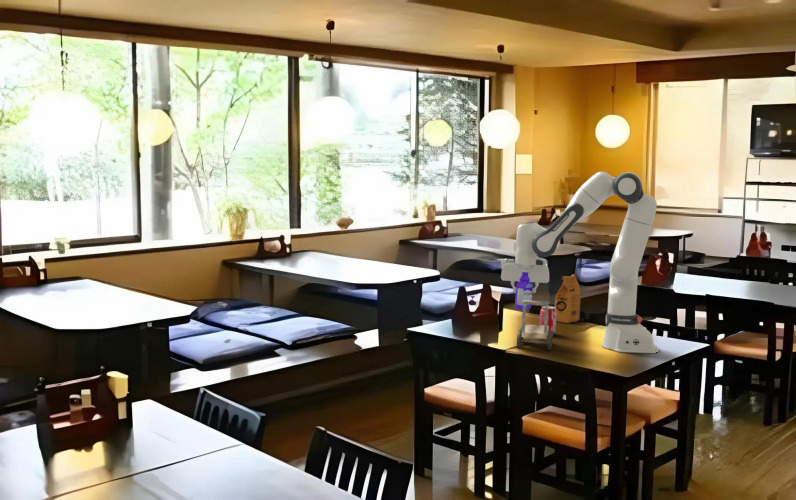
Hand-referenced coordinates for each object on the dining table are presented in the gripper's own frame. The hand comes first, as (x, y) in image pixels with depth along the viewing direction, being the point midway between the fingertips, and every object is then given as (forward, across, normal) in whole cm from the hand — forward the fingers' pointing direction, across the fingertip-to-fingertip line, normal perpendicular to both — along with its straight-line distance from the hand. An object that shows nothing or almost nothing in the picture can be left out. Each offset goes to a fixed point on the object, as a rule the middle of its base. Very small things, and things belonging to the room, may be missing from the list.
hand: (524, 292), depth 335 cm
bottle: (+8, 0, 0) cm, 8 cm away
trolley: (+20, +6, -12) cm, 24 cm away
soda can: (+20, +10, +12) cm, 26 cm away
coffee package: (+20, +18, +46) cm, 53 cm away
